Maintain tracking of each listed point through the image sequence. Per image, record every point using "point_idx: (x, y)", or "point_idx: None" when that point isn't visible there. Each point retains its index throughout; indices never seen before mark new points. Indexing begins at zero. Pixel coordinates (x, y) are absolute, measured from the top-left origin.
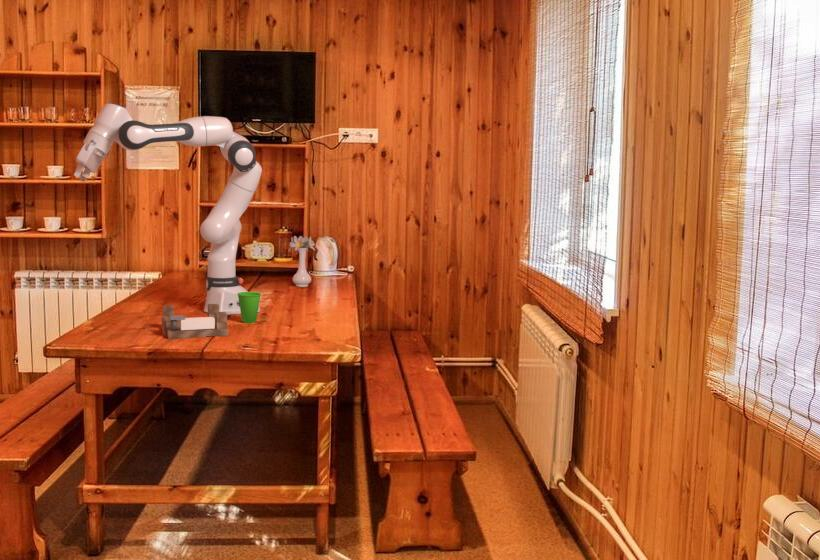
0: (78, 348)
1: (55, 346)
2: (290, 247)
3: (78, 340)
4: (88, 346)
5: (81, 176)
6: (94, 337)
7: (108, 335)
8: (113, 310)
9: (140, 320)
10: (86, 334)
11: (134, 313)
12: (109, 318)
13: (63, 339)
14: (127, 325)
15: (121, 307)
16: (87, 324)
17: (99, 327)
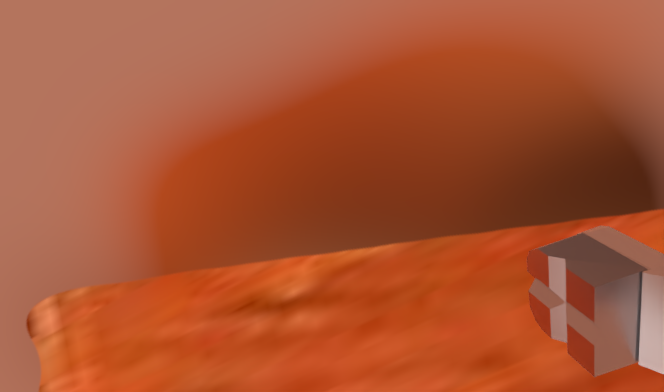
0: (47, 374)
1: (58, 305)
2: None
3: (136, 329)
4: (73, 389)
5: (574, 292)
6: (179, 354)
7: (212, 381)
8: (577, 229)
9: (439, 382)
10: (212, 315)
11: None
12: (446, 276)
13: (139, 285)
14: (356, 375)
15: (636, 231)
16: (343, 253)
17: (310, 307)
